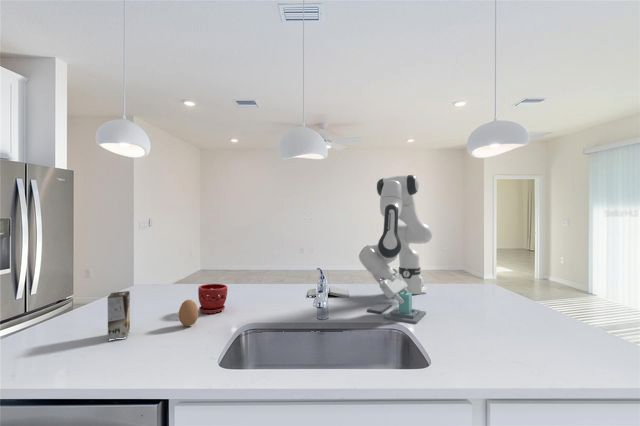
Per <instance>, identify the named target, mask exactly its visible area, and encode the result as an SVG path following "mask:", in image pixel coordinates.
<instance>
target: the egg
mask: <svg viewBox="0 0 640 426" xmlns="http://www.w3.org/2000/svg"><path fill="white" fill-rule="evenodd" d="M178 319H179V322H180V323H181V324H182V325H183V326H185V327H191V326H190V325H192V326H193V325H194V324H196V322H197V320H198V319H199V307H198V306H197V303H196V302H195V301H194V300H193V299H186V300H184V301H183V302H182V303H181V305H180V307H179V310H178Z"/></svg>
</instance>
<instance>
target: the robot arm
mask: <svg viewBox="0 0 640 426" xmlns="http://www.w3.org/2000/svg"><path fill="white" fill-rule="evenodd" d="M419 188H420V183H419V179H418V178H417V176H415V175H414V174H413V175H412V174H408V175H396V176H389V177H383V178H380V179H378V181H377V183H376V192H377V194H378V196H380V201H379V210H380V211H379V212H380V215H382V216H383V220H384V221H383V233H382V234H381V237H380V238H379V239H378V243H377V244H374V245H369V244H367V245H366V246H364V247H363V248H362V249H361V251H360V253H359V255H358V259H359V261H360V263H361V264H362V265H363V267H364V268H365V270H366V271H368V272H369V273H370V274H371V275H372V278H373V279H374V280H375V281H376V282H377V284H379V288H380V289H381V292H383V294H384V295H385V297H386V298H388V299H389V300H390V299H392V298H393V299H394V300H396V301H397V302H398V303H399V302H400V303H401V304H403V303H404V302H405V300H404V299H403V298H401V297H400V296H399V293H401V292H408V293H412V295H420V294H427V291H428V286H425V284H424V278H423V277H422V275H421V270H422V269H421V266H420V255H419V253H418V251H416V250H415V249H413V248H412V247H411V245H410V244H418V245H421V244H427V243H429V242H430V241H431V239H432V237H433V232H432V231H433V230H432V229H431V227H429V226H428V225H427V224H425V222H423V221H422V220H421V218H420V217H419V215H418V214H417V209H416V205H415V204H416V203H415V199H414V198H415V197H414V195H416V194H417V193H418V191H419ZM399 220H400V221H401V222H402V224H401V223H400V224H399ZM397 257H398V258H399V262H398V263H399V267H398V270H397V269H396V268H393V267H391V266H390V265H389V264H391V263H392V262H394V261H395V260H396V259H397Z"/></svg>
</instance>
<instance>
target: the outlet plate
mask: <svg viewBox="0 0 640 426" xmlns="http://www.w3.org/2000/svg"><path fill="white" fill-rule="evenodd" d="M426 314H427V311H423V310H420V309H415V308H412V314H405V313H399V306H398V307H394V308H393V309H392V310H391V311H389V312H388V313H386V314H385V315H384V316H383V320H390V321H395V322H396V321H397V322H403V323H409V324H415V325H417V324H418V323H419V322H420V321H421V320H422V319H423V318H424V317H425V316H426Z"/></svg>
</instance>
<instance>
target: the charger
mask: <svg viewBox="0 0 640 426" xmlns="http://www.w3.org/2000/svg"><path fill="white" fill-rule="evenodd" d="M398 295H399V296H400V297H401V298H403V299H404V300H405V302H404V303H403V304H401V303H400V302H399V301H398V307H399V313H405V314H412V309H413V294H412V293H408V292H401V293H398Z"/></svg>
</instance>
